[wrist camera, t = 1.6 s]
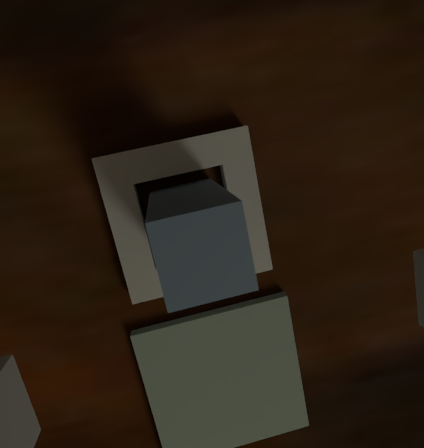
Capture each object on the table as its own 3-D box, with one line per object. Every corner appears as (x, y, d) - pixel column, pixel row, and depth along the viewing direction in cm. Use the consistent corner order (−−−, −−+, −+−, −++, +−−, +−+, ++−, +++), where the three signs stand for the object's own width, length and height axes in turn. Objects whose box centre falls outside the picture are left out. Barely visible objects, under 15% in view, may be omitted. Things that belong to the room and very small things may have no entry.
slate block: (149, 191, 30) (144, 223, 18) (209, 178, 30) (241, 200, 19) (164, 249, 31) (168, 313, 19) (221, 235, 31) (258, 290, 20)
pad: (130, 330, 32) (130, 336, 31) (283, 291, 33) (287, 295, 32) (167, 458, 36) (168, 467, 35) (305, 418, 37) (308, 425, 36)
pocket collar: (94, 157, 29) (91, 158, 27) (243, 126, 30) (247, 125, 28) (133, 296, 32) (132, 304, 30) (267, 263, 33) (272, 269, 31)
